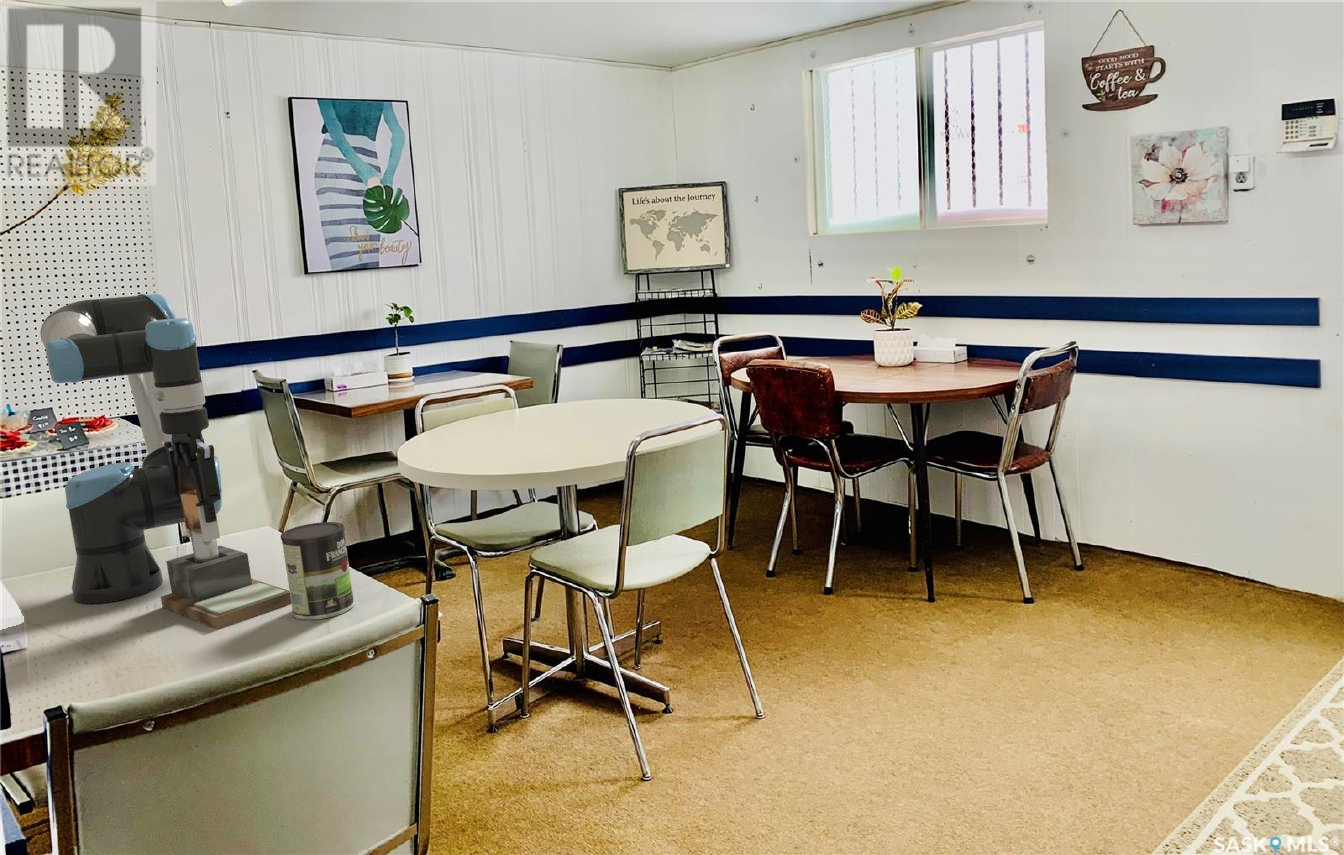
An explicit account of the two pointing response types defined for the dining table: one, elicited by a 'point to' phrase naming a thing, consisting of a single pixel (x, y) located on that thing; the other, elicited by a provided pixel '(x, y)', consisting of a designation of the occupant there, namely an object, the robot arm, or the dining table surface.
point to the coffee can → (318, 570)
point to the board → (219, 589)
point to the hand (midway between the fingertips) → (203, 536)
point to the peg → (197, 529)
